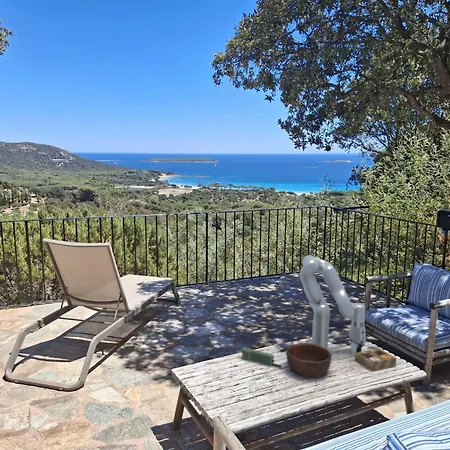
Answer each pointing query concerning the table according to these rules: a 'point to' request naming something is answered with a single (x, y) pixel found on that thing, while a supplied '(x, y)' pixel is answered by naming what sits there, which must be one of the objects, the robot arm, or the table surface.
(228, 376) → the table surface
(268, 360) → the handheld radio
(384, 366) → the socket block
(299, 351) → the wooden bowl
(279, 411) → the table surface
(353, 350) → the plug
